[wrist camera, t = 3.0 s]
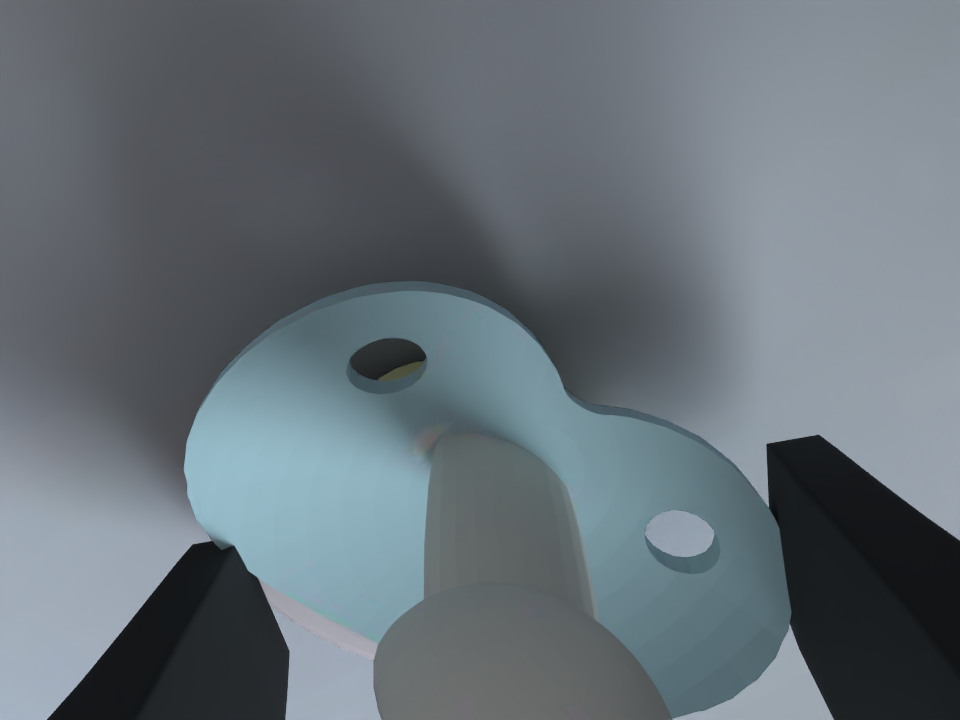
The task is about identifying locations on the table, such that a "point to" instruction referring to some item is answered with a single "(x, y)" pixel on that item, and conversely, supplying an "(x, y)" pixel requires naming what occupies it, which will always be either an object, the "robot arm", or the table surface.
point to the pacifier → (481, 519)
